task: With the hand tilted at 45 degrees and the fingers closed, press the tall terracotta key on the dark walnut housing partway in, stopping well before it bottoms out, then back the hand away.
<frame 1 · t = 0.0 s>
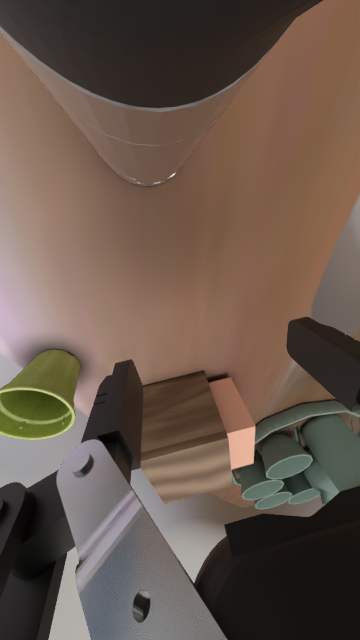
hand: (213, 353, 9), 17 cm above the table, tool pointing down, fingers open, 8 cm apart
plant pot: (59, 363, 29), on the table
key: (216, 425, 33), point 6 cm above the table, slide at 0.0 cm
tea set: (289, 442, 56), on the table
key housing: (179, 404, 38), on the table
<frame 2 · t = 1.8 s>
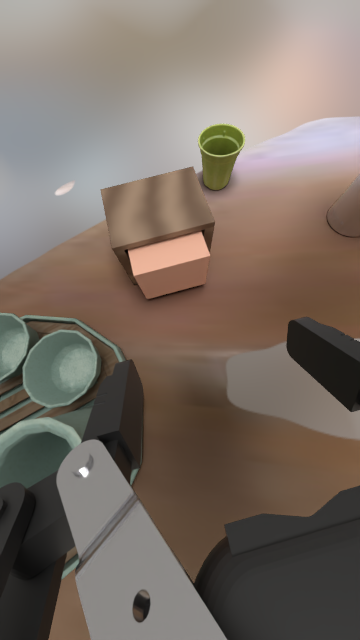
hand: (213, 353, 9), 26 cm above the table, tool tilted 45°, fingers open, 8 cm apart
plant pot: (215, 182, 46), on the table
key: (167, 257, 34), point 6 cm above the table, slide at 0.0 cm
tea set: (33, 428, 33), on the table
key housing: (164, 251, 41), on the table
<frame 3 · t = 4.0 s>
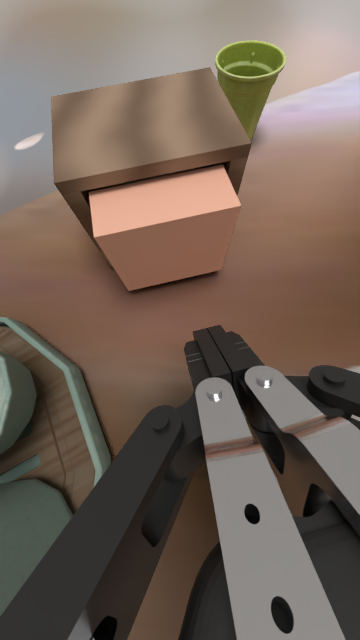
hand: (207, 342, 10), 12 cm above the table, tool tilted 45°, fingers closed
plant pot: (234, 137, 34), on the table
key: (163, 222, 21), point 6 cm above the table, slide at 0.0 cm
key housing: (160, 224, 28), on the table
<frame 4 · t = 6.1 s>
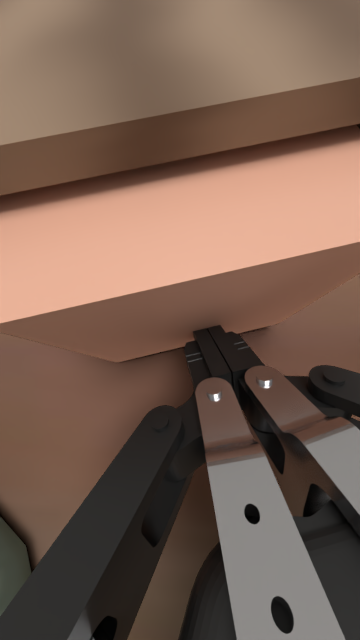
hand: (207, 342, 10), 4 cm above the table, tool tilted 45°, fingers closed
key: (182, 246, 11), point 6 cm above the table, slide at 1.0 cm, touching gripper
key housing: (171, 247, 18), on the table
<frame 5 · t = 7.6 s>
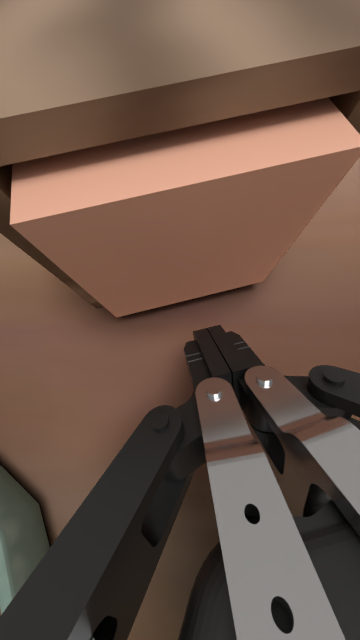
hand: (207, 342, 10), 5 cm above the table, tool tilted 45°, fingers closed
key: (172, 203, 12), point 6 cm above the table, slide at 2.6 cm
key housing: (170, 233, 18), on the table
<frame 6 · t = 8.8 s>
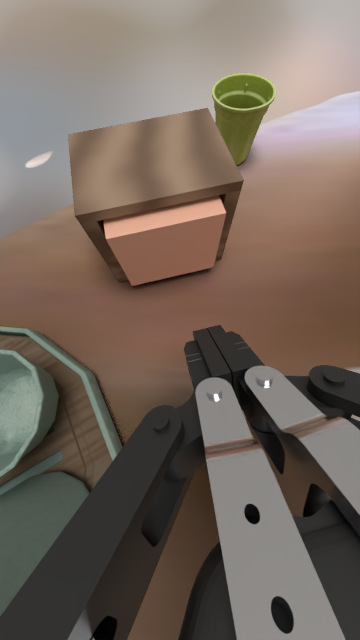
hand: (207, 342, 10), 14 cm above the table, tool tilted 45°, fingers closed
plant pot: (230, 157, 37), on the table
key: (162, 225, 24), point 6 cm above the table, slide at 2.6 cm
key housing: (162, 239, 31), on the table
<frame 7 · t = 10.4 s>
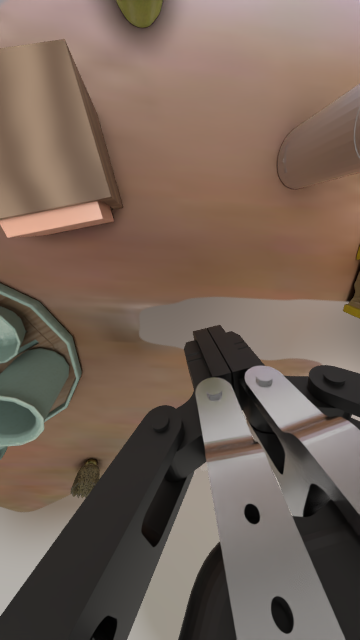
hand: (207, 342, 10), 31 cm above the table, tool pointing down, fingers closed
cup: (91, 460, 61), on the table
key: (53, 190, 26), point 6 cm above the table, slide at 2.6 cm
key housing: (61, 174, 30), on the table
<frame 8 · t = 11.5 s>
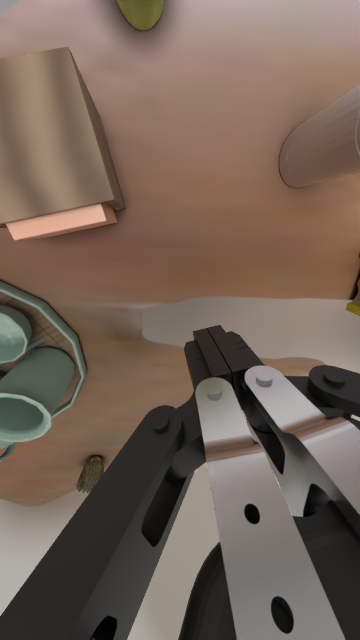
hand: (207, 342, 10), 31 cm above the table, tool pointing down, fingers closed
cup: (96, 457, 63), on the table
key: (58, 193, 26), point 6 cm above the table, slide at 2.6 cm
key housing: (65, 176, 30), on the table
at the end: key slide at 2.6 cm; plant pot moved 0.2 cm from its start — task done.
